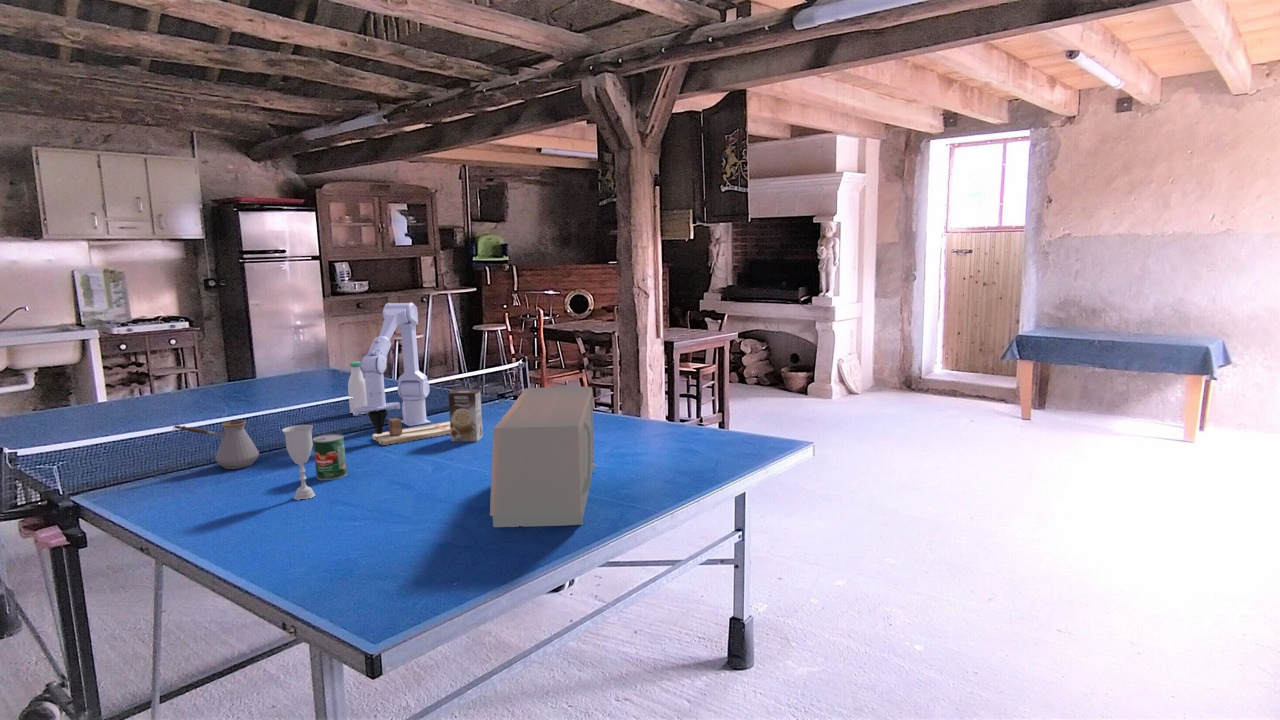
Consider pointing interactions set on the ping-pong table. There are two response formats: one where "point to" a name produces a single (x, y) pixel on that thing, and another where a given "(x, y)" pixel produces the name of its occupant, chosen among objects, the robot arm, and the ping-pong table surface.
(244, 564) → the ping-pong table surface
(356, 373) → the milk bottle
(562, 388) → the vintage radio
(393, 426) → the fader knob
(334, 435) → the canned tomato
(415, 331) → the robot arm
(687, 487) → the ping-pong table surface
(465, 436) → the coffee box
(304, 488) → the chalice
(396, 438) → the fader panel
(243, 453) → the coffee pot
